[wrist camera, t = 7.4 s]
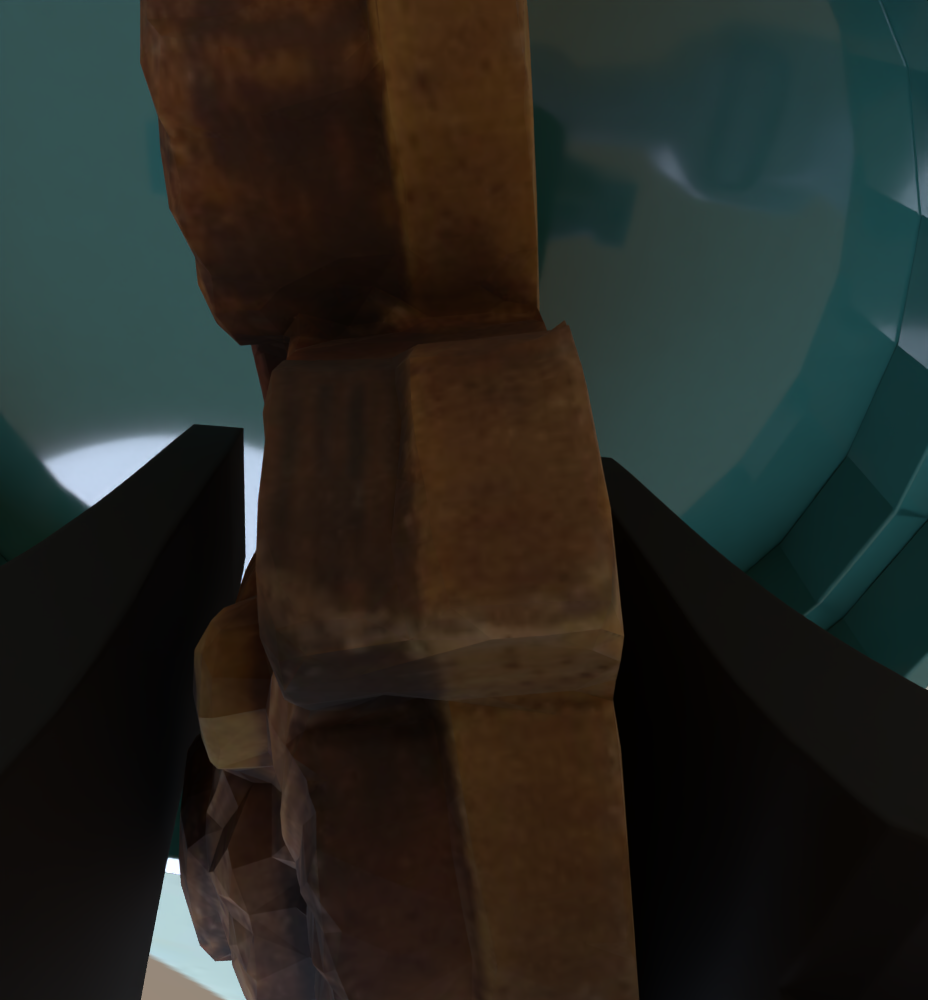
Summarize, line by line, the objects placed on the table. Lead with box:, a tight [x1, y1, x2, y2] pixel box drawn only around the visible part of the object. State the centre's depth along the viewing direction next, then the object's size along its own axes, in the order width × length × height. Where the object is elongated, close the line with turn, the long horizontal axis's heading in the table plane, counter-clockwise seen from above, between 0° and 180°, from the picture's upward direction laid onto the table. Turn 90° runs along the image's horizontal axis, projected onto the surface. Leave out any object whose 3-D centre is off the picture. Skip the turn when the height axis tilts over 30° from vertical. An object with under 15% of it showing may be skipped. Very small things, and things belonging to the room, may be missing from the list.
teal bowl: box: [0, 0, 928, 875], centre depth 13 cm, size 21×21×4 cm
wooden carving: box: [140, 0, 639, 1000], centre depth 10 cm, size 16×5×10 cm, turn 10°
